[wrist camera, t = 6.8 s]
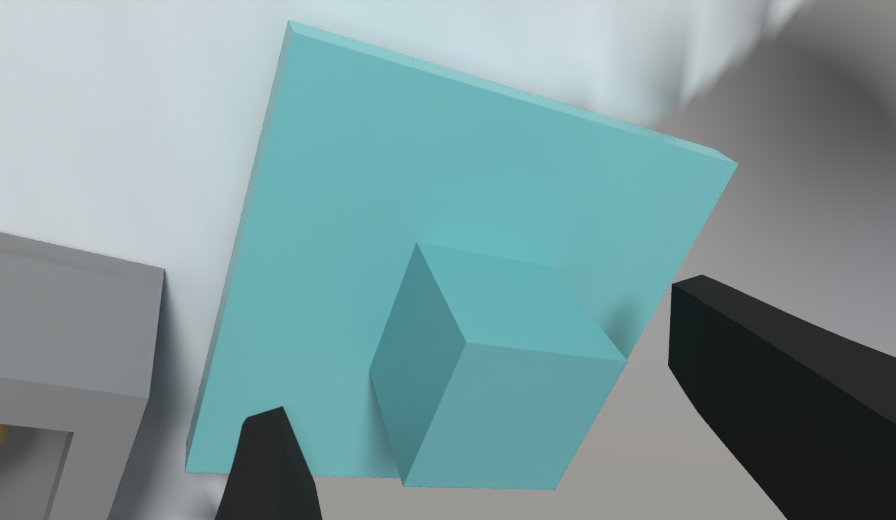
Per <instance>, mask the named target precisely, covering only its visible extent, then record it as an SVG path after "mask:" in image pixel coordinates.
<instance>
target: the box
mask: <svg viewBox="0 0 896 520" xmlns="http://www.w3.org/2000/svg"><path fill="white" fill-rule="evenodd" d="M164 270H165V269H162V268H157V267H153V266H148V265H144V264H139V263H135V262H130V261H126V260H121V259H117V258H112V257H108V256H103V255H99V254H94V253H90V252H85V251H81V250H76V249H72V248H67V247H63V246H58V245H54V244H49V243H45V242H40V241H36V240H31V239H27V238H22V237H18V236H13V235H9V234H4V233H0V520H107V519H108V516H109V513H110V510H111V507H112V504H113V501H114V499H115V496H116V493H117V490H118V487H119V484H120V481H121V478H122V475H123V472H124V469H125V466H126V464H127V461H128V458H129V455H130V452H131V449H132V446H133V443H134V440H135V437H136V434H137V431H138V429H139V426H140V423H141V420H142V417H143V414H144V411H145V408H146V405H147V402H148V399H149V393H150V385H151V377H152V368H153V360H154V352H155V344H156V335H157V327H158V319H159V311H160V303H161V294H162V286H163V278H164Z"/></svg>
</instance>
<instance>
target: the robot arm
mask: <svg viewBox="0 0 896 520" xmlns="http://www.w3.org/2000/svg"><path fill="white" fill-rule="evenodd" d="M670 316H671V317H670V337H669V359H668V366H669V368H670V370H671V371H672V373H673V374H674V376H675V378H676V379H677V381H678V383H679V384H680V386H681V387H682V389H683V391H684V392H685V394H686V395H687V397H688V398H689V400H690V401H691V403H692V404H693V406H694V407H695V409H696V410H697V412H698V413H699V414H700V415H701V417H702V418H703V419H704V420H705V422H706V423H707V424H708V425H709V426H710V428H711V429H712V430H713V431H714V432H715V434H716V435H717V436H718V437H719V438H720V440H721V441H722V442H723V443H724V444H725V446H726V447H727V448H728V449H729V450H730V452H731V453H732V454H733V455H734V456H735V457H736V459H737V460H738V461H739V462H740V463H741V464H742V466H743V467H744V468H745V469H746V470H747V472H748V473H749V474H750V475H751V476H752V478H753V479H754V480H755V481H756V482H757V483H758V484H759V486H760V487H761V488H762V489H763V490H764V492H765V493H766V494H767V495H768V496H769V498H770V499H771V500H772V501H773V502H774V503H775V505H776V506H777V507H778V508H779V510H780V511H781V512H782V514H783V515H784V516H785V517H786V518H787V520H896V357H893V356H890V355H888V354H885V353H883V352H880V351H877V350H875V349H872V348H870V347H867V346H864V345H862V344H859V343H857V342H854V341H851V340H849V339H847V338H844V337H841V336H839V335H837V334H835V333H832V332H830V331H827V330H825V329H823V328H820V327H818V326H816V325H813V324H811V323H809V322H807V321H804V320H802V319H800V318H797V317H795V316H793V315H791V314H788V313H786V312H784V311H782V310H780V309H778V308H775V307H773V306H771V305H769V304H767V303H764V302H762V301H760V300H758V299H756V298H753V297H751V296H749V295H747V294H745V293H743V292H741V291H738V290H736V289H734V288H732V287H730V286H727V285H725V284H723V283H721V282H718V281H716V280H714V279H711V278H709V277H707V276H704V275H699V276H696V277H693V278H689V279H686V280H683V281H680V282H677V283H674V284H672V293H671V315H670ZM215 520H322V515H321V511H320V506H319V501H318V496H317V491H316V486H315V482H314V480H313V477H312V475H311V472H310V470H309V468H308V465H307V463H306V460H305V458H304V456H303V453H302V451H301V448H300V446H299V443H298V441H297V439H296V436H295V434H294V431H293V429H292V427H291V424H290V422H289V419H288V417H287V414H286V412H285V410H284V407H283V406H281V407H278V408H275V409H272V410H269V411H265V412H262V413H259V414H256V415H253V416H249V417H247V418H246V419H245V421H244V422H243V424H242V428H241V432H240V437H239V441H238V445H237V449H236V453H235V457H234V460H233V464H232V467H231V471H230V474H229V478H228V481H227V484H226V488H225V491H224V494H223V497H222V500H221V503H220V506H219V509H218V512H217V515H216V518H215Z"/></svg>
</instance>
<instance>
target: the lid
mask: <svg viewBox="0 0 896 520" xmlns="http://www.w3.org/2000/svg"><path fill="white" fill-rule="evenodd" d="M737 165H738V164H737V163H735V162H733V161H732V160H730V159H729V158H727V157H726V156H724V155H723V154H721V153H719V152H718V151H716V150H715V149H712V148H708V147H705V146H702V145H699V144H695V143H692V142H689V141H685V140H682V139H679V138H676V137H672V136H669V135H666V134H662V133H659V132H656V131H653V130H649V129H646V128H643V127H639V126H636V125H633V124H630V123H626V122H623V121H620V120H616V119H613V118H610V117H607V116H603V115H600V114H597V113H593V112H590V111H587V110H583V109H580V108H577V107H574V106H570V105H567V104H564V103H560V102H557V101H554V100H551V99H547V98H544V97H541V96H537V95H534V94H531V93H528V92H524V91H521V90H518V89H514V88H511V87H508V86H505V85H501V84H498V83H495V82H491V81H488V80H485V79H481V78H478V77H475V76H472V75H468V74H465V73H462V72H458V71H455V70H452V69H449V68H445V67H442V66H439V65H435V64H432V63H429V62H426V61H422V60H419V59H416V58H412V57H409V56H406V55H403V54H399V53H396V52H393V51H389V50H386V49H383V48H379V47H376V46H373V45H370V44H366V43H363V42H360V41H356V40H353V39H350V38H347V37H343V36H340V35H337V34H333V33H330V32H327V31H324V30H320V29H317V28H314V27H310V26H307V25H304V24H301V23H297V22H294V21H291V20H288V24H287V28H286V32H285V36H284V41H283V45H282V49H281V53H280V57H279V61H278V65H277V70H276V74H275V78H274V82H273V86H272V90H271V94H270V99H269V103H268V107H267V111H266V115H265V119H264V123H263V128H262V132H261V136H260V140H259V144H258V148H257V152H256V156H255V161H254V165H253V169H252V173H251V177H250V181H249V185H248V190H247V194H246V198H245V202H244V206H243V210H242V214H241V219H240V223H239V227H238V231H237V235H236V239H235V243H234V248H233V252H232V256H231V260H230V264H229V268H228V272H227V277H226V281H225V285H224V289H223V293H222V297H221V301H220V305H219V310H218V314H217V318H216V322H215V326H214V330H213V334H212V339H211V343H210V347H209V351H208V355H207V359H206V363H205V368H204V372H203V376H202V380H201V384H200V388H199V392H198V397H197V401H196V405H195V409H194V413H193V417H192V421H191V425H190V430H189V434H188V438H187V442H186V459H185V472H189V473H227V474H230V471H231V467H232V464H233V460H234V457H235V453H236V449H237V445H238V441H239V437H240V432H241V428H242V424H243V422H244V421H245V419H246V418H247V417H249V416H253V415H256V414H259V413H262V412H265V411H269V410H272V409H275V408H278V407H281V406H283V407H284V410H285V412H286V414H287V417H288V419H289V422H290V424H291V427H292V429H293V431H294V434H295V436H296V439H297V441H298V443H299V446H300V448H301V451H302V453H303V456H304V458H305V460H306V463H307V465H308V468H309V470H310V472H311V475H312V476H342V477H379V478H401V481H402V484H403V487H445V488H492V489H540V490H541V489H542V490H555V488H556V486H557V484H558V483H559V481H560V479H561V478H562V476H563V474H564V472H565V471H566V469H567V467H568V465H569V464H570V462H571V460H572V458H573V457H574V454H575V453H576V451H577V450H578V448H579V446H580V444H581V443H582V441H583V439H584V437H585V436H586V434H587V432H588V430H589V428H590V427H591V425H592V423H593V422H594V420H595V418H596V416H597V414H598V413H599V411H600V409H601V408H602V406H603V404H604V402H605V401H606V399H607V397H608V395H609V394H610V392H611V390H612V388H613V387H614V385H615V383H616V381H617V380H618V378H619V376H620V374H621V373H622V371H623V369H624V367H625V366H626V364H627V362H628V361H627V358H628V357H629V355H630V353H631V351H632V350H633V348H634V346H635V344H636V343H637V341H638V339H639V337H640V336H641V334H642V332H643V330H644V329H645V327H646V325H647V323H648V322H649V320H650V318H651V316H652V315H653V313H654V311H655V309H656V308H657V306H658V304H659V302H660V300H661V299H662V297H663V295H664V293H665V292H666V290H667V288H668V287H669V285H670V283H671V281H672V279H673V277H674V276H675V274H676V272H677V271H678V269H679V267H680V265H681V264H682V262H683V260H684V258H685V257H686V255H687V253H688V251H689V250H690V248H691V246H692V244H693V242H694V241H695V239H696V237H697V236H698V234H699V232H700V230H701V229H702V227H703V225H704V223H705V221H706V220H707V218H708V216H709V215H710V213H711V211H712V209H713V208H714V206H715V204H716V202H717V200H718V199H719V197H720V195H721V193H722V192H723V190H724V188H725V187H726V185H727V183H728V181H729V179H730V178H731V176H732V174H733V172H734V171H735V169H736V167H737Z"/></svg>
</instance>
